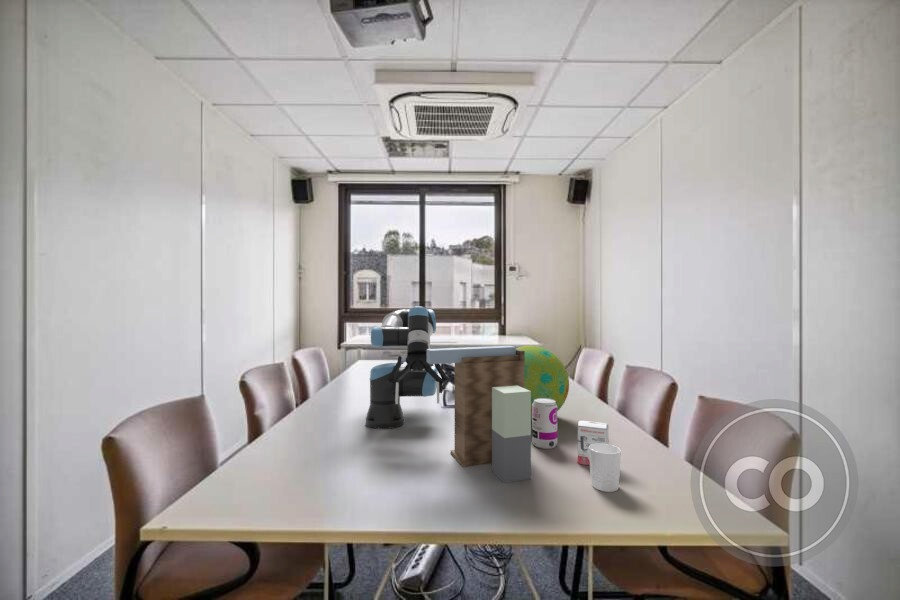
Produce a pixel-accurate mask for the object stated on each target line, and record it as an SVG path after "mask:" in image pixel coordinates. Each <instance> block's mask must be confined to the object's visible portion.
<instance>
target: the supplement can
mask: <svg viewBox="0 0 900 600" xmlns="http://www.w3.org/2000/svg"><path fill="white" fill-rule="evenodd" d="M531 444H533V445H534V446H535V447H536V448H538V449H543V450H544V449H545V450H551V449H555V448H556V447H557V445H558V411H557V404H556V402H555V400H553V399H548V398H538V399H535V400H534V402H533V404H532V421H531Z"/></svg>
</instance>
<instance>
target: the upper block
mask: <svg viewBox="0 0 900 600" xmlns="http://www.w3.org/2000/svg"><path fill="white" fill-rule="evenodd" d="M492 430H494V431H495V432H497V433H498V434H499V435H501V436H502V437H503V438H510V437H518V436H527V435H531V436H532V421H531V391H529V390H527V389H524V388H522V387H520V386H517V385H516V386H502V387H492Z"/></svg>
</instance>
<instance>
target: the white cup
mask: <svg viewBox="0 0 900 600" xmlns="http://www.w3.org/2000/svg"><path fill="white" fill-rule="evenodd" d="M621 456H622V450H621V448H620V447H618V446H616V445H613V444H610V443H608V444H604V443H595V444H591V445H590V446H589V459H590V465H589V471H590V485H591V487H593V488H594V489H596V490H598V491H601V492H604V493H605V492H606V493H613V492H616V491H619V487H620V477H621V475H620V474H621V462H622V461H621V460H622V459H621Z"/></svg>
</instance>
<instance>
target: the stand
mask: <svg viewBox="0 0 900 600" xmlns="http://www.w3.org/2000/svg"><path fill="white" fill-rule="evenodd" d="M516 385H517V386H520V387H522V388H524V389H525V351H523V350H519V349H516V355H510V356H489V357H469V358H462V363H454V449H451V450H450V454H451V455H452V457H453V458H454V459H455V460H456V461H457V462H458V464H459V465H460V464H461V467H470V466H479V465H486V464H490V463H491V464H492V387H502V386H516ZM478 464H479V465H478ZM469 465H470V466H469Z"/></svg>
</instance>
